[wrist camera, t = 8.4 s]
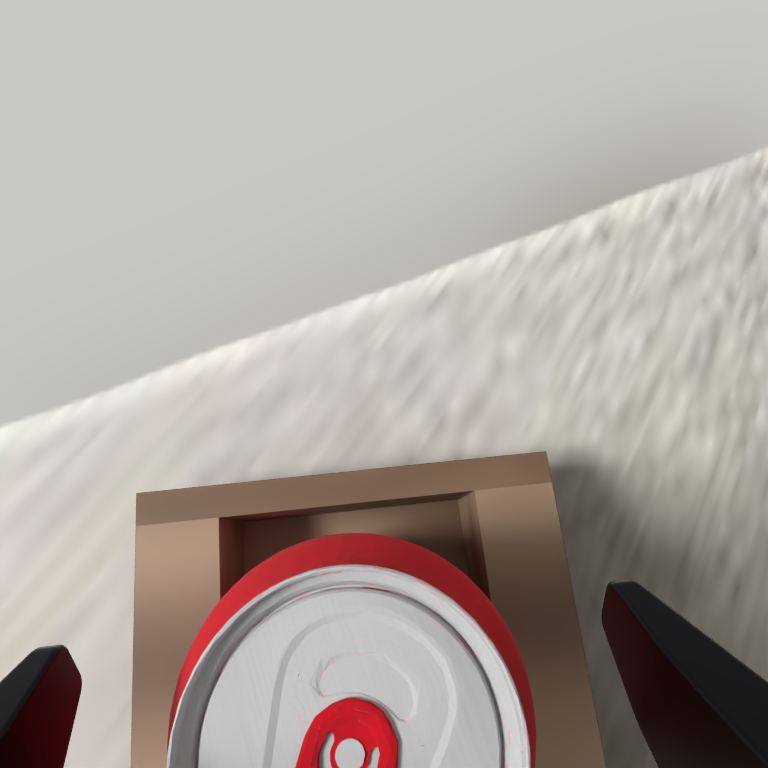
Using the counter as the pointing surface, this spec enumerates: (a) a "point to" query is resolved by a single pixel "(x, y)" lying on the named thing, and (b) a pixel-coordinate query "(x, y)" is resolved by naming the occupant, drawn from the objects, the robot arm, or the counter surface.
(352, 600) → the beverage can
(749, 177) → the counter surface
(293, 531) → the walnut caddy
